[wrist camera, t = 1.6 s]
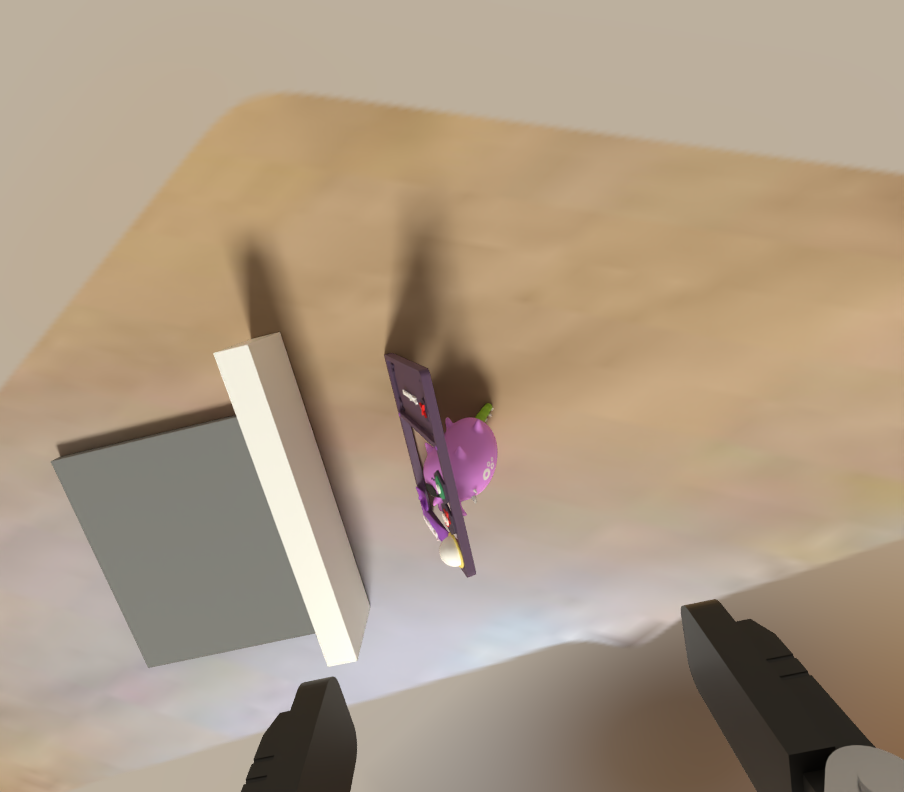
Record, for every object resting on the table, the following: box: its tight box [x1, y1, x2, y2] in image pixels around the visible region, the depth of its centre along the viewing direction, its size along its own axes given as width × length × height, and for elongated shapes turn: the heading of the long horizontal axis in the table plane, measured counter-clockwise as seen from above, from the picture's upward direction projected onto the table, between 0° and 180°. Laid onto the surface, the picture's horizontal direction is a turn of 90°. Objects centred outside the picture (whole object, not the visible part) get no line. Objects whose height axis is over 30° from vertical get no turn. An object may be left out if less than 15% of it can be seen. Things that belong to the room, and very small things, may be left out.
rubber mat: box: [51, 415, 315, 668], centre depth 27 cm, size 11×13×1 cm
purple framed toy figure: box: [384, 353, 497, 577], centre depth 24 cm, size 7×5×9 cm
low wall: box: [213, 332, 370, 667], centre depth 25 cm, size 2×16×4 cm, turn 14°
